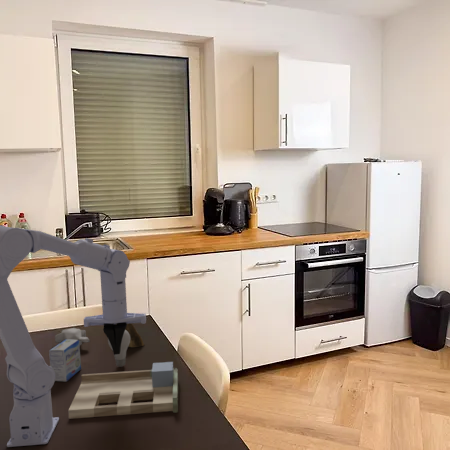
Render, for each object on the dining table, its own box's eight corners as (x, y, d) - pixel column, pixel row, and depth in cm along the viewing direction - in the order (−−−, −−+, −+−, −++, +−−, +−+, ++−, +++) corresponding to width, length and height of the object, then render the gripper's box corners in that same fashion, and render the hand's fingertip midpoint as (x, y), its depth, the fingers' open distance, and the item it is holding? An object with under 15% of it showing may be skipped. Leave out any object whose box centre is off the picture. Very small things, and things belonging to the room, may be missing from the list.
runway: (177, 412, 103) (177, 397, 103) (68, 420, 101) (67, 405, 100) (178, 380, 118) (177, 368, 118) (83, 387, 116) (82, 374, 116)
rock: (103, 334, 148) (108, 340, 139) (118, 310, 150) (123, 315, 141) (132, 349, 151) (138, 356, 142) (145, 326, 153) (153, 331, 144)
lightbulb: (109, 372, 124) (107, 333, 123) (109, 363, 130) (106, 326, 129) (132, 369, 126) (130, 331, 125) (131, 361, 132) (129, 324, 130)
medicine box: (66, 382, 120) (64, 350, 119) (51, 381, 120) (48, 349, 119) (81, 369, 127) (79, 339, 126) (67, 368, 128) (64, 338, 127)
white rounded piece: (81, 323, 154) (92, 331, 141) (83, 338, 154) (93, 348, 141) (52, 329, 149) (60, 337, 136) (53, 344, 149) (61, 354, 136)
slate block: (173, 386, 111) (172, 370, 111) (152, 387, 111) (151, 371, 111) (173, 376, 116) (172, 361, 116) (153, 378, 116) (152, 363, 115)
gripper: (145, 292, 115) (148, 344, 116) (86, 295, 113) (89, 348, 115) (143, 300, 108) (146, 355, 109) (80, 303, 106) (84, 359, 108)
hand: (117, 352), depth 112 cm, fingers closed
